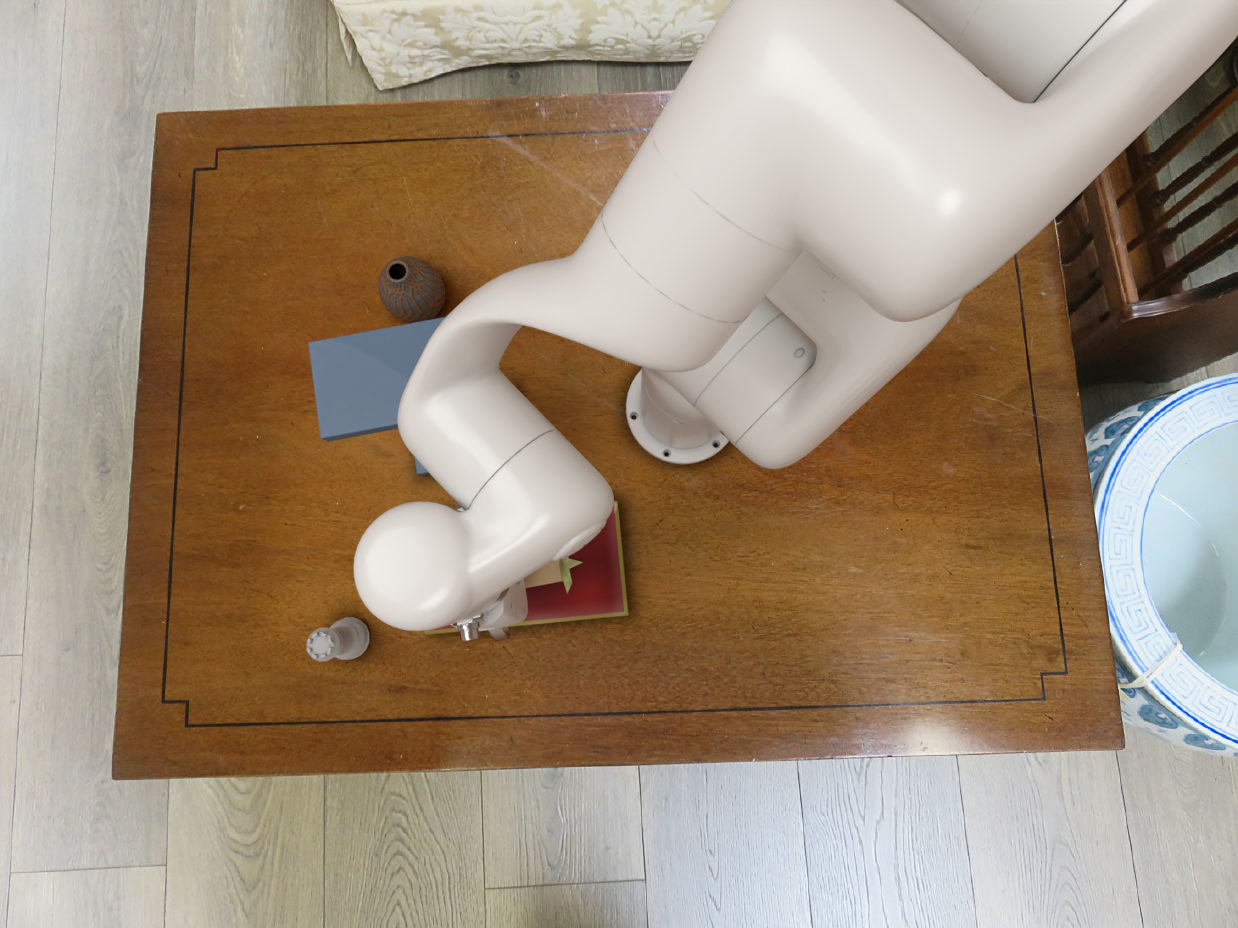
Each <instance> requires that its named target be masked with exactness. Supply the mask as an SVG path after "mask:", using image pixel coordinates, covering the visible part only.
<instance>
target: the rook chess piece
mask: <svg viewBox="0 0 1238 928" xmlns="http://www.w3.org/2000/svg"><path fill="white" fill-rule="evenodd" d="M369 644H370V631H369V629H368V626H367V625H366V624H365V622H363V621H362V620H361V619H359V618H356V617H353V616H351V617H344V618H340V619H339V620H336V621H334V622H333V623H332V624H331V625H330V626H329V627H318V628H317V629H314V630H313V631H312V632H311V633H310V634H309V636H308V639H307V640H306V652H307V654H308V655H309V657H311V658H312V659H313V660H314V661H317V662H328V661H330V660H332V659H333V658H336V659H338V660H341V661H347V660H348V661H349V660H354V659H356V658H359V657H361V656H362V655H363V654H364V653H365V651H366V650H367V648H368V646H369Z"/></svg>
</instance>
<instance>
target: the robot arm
mask: <svg viewBox="0 0 1238 928" xmlns="http://www.w3.org/2000/svg"><path fill="white" fill-rule="evenodd" d="M1237 37H1238V0H730V1H729V2H728V4H727V5H726V7H725V8H724V9H723V11H722V12H721V14H720V16H719V17H718V19H717V21H716V22H715V23H714V26H713V27H712V28H711V30H710V31H709V34H708V35H707V36H706V38H705V40H704V42H703V43H702V44H701V46H700V48H699V50H698V51H697V53H696V55H694V57H693V60H692V61H691V63H690V64H689V66H688V67H687V70H686V71H685V73H684V74H683V76H682V77H681V79H680V81H679V82H678V84H677V86H676V87H675V89H674V91H673V92H672V94H671V95H670V97H669V99H668V100H667V102H666V104H665V105H664V107H663V109H662V110H661V112H660V114H659V115H658V117H657V118H656V120H655V122H654V124H653V125H652V126H651V129H650V130H649V132H648V134H647V136H646V137H645V139H644V140H643V142H642V144H641V145H640V147H639V149H638V150H637V152H636V153H635V154H634V156H633V158H632V159H631V161H630V164H628V166H627V168H626V170H625V172H624V173H623V174H622V176H621V178H620V180H619V181H618V183H617V185H616V187H615V188H614V189H613V191H612V192H611V195H610V196H609V197H608V199H607V201H606V202H605V204H604V205H603V206H602V208H601V210H600V212H599V214H598V215H597V217H596V219H595V220H594V222H593V225H591V228H590V229H589V231H588V233H587V235H586V236H585V238H584V240H583V241H582V243H581V244H580V245H579V246H578V248H577V249H576V250H575V251H574V252H573V253H572V254H571V255H568V256H565V257H562V258H556V259H550V260H543V261H538V262H534V263H530V264H526V265H523V266H520V267H517V268H515V269H512V270H509V271H507V272H504V273H502V274H500V275H498V276H496V277H494V278H492V279H490V280H489V281H488V282H487V281H486V283H485V284H482V285H481V286H480V287H479V288H476V289H475V290H474V291H473V292H471V293H470V294H469V295H468V296H466V297H465V298H464V299H463V300H462V301H461V302H460V303H459V304H457V305H456V307H454V308H453V309H452V310H451V311H450V312H449V313H448V314H447V315H446V316H445V317H446V318H445V319H444V320H443V321H442V322H441V323H440V325H439V326H438V327H437V329H436V330H435V332H434V333H433V334H432V336H431V337H430V339H429V341H428V343H427V345H426V347H425V349H424V351H423V353H422V355H421V357H420V359H419V360H418V362H417V364H416V366H415V368H414V370H413V372H412V374H411V376H410V379H409V381H408V383H407V385H406V387H405V390H404V392H403V395H402V398H401V401H400V405H399V409H398V418H397V422H398V429H397V430H398V433H399V435H400V438H401V440H402V442H403V443H404V445H405V447H406V448H407V449H408V451H409V452H410V453H411V454H412V456H413V457H414V456H415V458H416V459H417V460H418V461H419V462H420V463H421V464H422V466H423V467H424V468H425V469H426V470H427V471H428V472H429V473H430V474H429V475H430V476H431V477H432V478H433V479H434V480H435V481H436V482H437V483H438V484H439V486H440V487H441V488H442V489H443V490H444V491H445V492H446V493H448V495H449V496H450V497H451V498H452V499H453V500H454V501H455V502H456V503H457V505H458V506H459V507H457V508H454V507H451V506H448V505H446V504H442V503H437V502H434V501H421V500H417V501H410V502H405V503H401V504H397V505H396V506H393V507H391V508H389V509H388V510H386V511H384V512H383V513H381V514H380V515H379V516H377V517H376V518H375V519H374V520H373V521H372V522H371V524H369V525H368V527H367V528H366V529H365V531H364V532H363V534H362V535H361V537H360V539H359V542H358V543H357V546H356V549H355V553H354V558H353V579H354V585H355V588H356V591H357V593H358V597H359V598H360V599H361V601H362V603H363V605H364V606H365V608H367V610H368V611H369V612H370V613H371V614H372V615H373V616H375V617H376V618H377V619H378V620H379V621H381V622H383V624H386V625H388V626H390V627H392V628H394V629H395V628H396V629H398V630H402V631H410V632H424V631H425V630H432V629H436V628H440V627H443V626H447V625H451V626H453V627H455V628H456V629H458V631H459V636H460V641H461V642H468V641H472V640H477V639H480V638H481V635H480V632H484V631H488V633H489V634H490V636H491V638H492V639H493V641H494V642H501V641H506V640H510V627H509V626H511V625H515V624H518V623H521V622H523V621H524V620H525V618H526V616H527V614H528V604H527V596H526V589H525V583H524V578H525V577H527V576H528V575H530V574H532V573H533V572H535V571H537V570H538V569H540V568H542V567H543V566H545V565H547V564H548V563H550V562H552V561H559V560H561V559H564V558H566V557H568V556H570V555H572V554H574V553H575V552H577V551H578V550H580V549H581V548H582V547H584V545H586V544H588V543H589V542H590V541H591V540H592V539H593V538H594V537H595V536H596V535H597V534H599V532H600V531H601V529H602V528H603V527H604V526H605V524H606V521H607V519H608V517H609V516H610V514H611V512H612V509H613V506H614V501H615V497H614V493H613V489H612V487H611V486H610V484H609V483H608V481H607V480H606V479H605V478H604V476H603V475H602V473H600V471H599V470H598V469H596V468H595V466H593V464H592V463H591V462H590V461H589V460H588V459H587V458H586V457H585V456H584V455H583V454H582V453H581V452H580V451H579V450H578V449H577V448H576V447H575V446H574V445H573V444H572V443H571V442H570V441H569V440H568V439H567V438H566V437H565V436H564V435H563V434H562V433H561V432H560V430H558V429H557V428H556V427H555V426H554V425H553V423H552V422H550V420H548V418H546V416H544V414H543V413H542V412H541V411H540V410H539V409H538V408H537V407H536V406H535V405H534V404H533V403H532V402H531V401H530V400H529V399H528V398H527V397H526V396H525V395H524V394H523V393H522V392H521V391H520V389H518V388H517V387H516V386H515V384H514V383H513V382H511V380H510V379H508V377H507V376H506V375H505V374H504V373H503V372H502V371H501V368H500V363H501V360H502V358H503V356H504V354H505V352H506V350H507V349H508V347H509V345H510V343H511V342H512V340H513V339H514V337H515V335H516V334H517V333H518V332H519V331H520V329H521V328H522V327H523V326H525V327H529V328H534V329H536V330H539V331H542V332H545V333H549V334H552V335H556V336H559V337H561V338H564V339H568V340H569V341H573V342H575V343H578V344H581V345H584V346H586V347H588V348H591V349H593V350H596V351H599V352H601V353H604V354H606V355H608V356H611V357H613V358H616V359H618V360H621V361H624V362H626V363H629V364H632V365H635V366H638V367H641V369H639V370H640V371H638V372H637V374H636V375H635V377H634V379H633V380H632V382H630V383H631V384H630V386H629V389H628V391H627V395H626V403H625V415H626V421H627V424H628V428H629V431H630V432H631V434H632V436H633V438H634V440H635V441H636V442H637V444H638V445H639V446H640V447H641V448H642V449H643V450H644V451H645V452H647V454H649V455H651V456H652V457H654V458H656V459H658V460H660V461H662V462H666V463H669V464H672V465H673V464H674V465H694V464H697V463H700V462H704V461H706V460H708V459H710V458H712V457H714V456H715V455H717V454H718V453H719V452H720V451H722V450H723V449H724V448H725V447H726V446H727V444H728V443H731V444H732V445H733V446H734V447H735V448H736V449H737V450H738V451H739V452H740V453H741V454H743V455H744V456H745V457H746V458H747V459H749V460H750V461H751V462H753V463H754V464H755V465H757V466H759V467H762V468H764V469H769V470H779V469H783V468H787V467H789V466H791V465H794V464H795V463H797V462H799V461H801V460H802V459H804V458H805V457H806V456H808V455H809V454H810V453H811V452H812V451H814V450H815V449H816V448H817V447H818V446H819V445H821V444H822V443H823V442H824V441H825V440H827V438H829V437H830V436H831V435H832V434H833V433H834V432H835V431H836V430H837V429H839V428H840V427H841V426H842V425H843V424H844V423H845V422H846V421H847V420H848V419H850V418H851V416H853V415H854V414H855V413H856V412H857V411H858V410H859V409H861V407H862V406H864V405H865V404H866V403H867V402H868V401H869V400H870V399H872V398H873V397H874V395H876V394H877V393H878V392H880V390H881V389H882V388H884V387H885V386H886V385H887V384H888V383H889V382H890V381H891V380H892V379H893V378H895V377H896V376H897V375H898V374H899V373H900V372H901V371H902V370H903V369H904V368H906V367H907V366H908V365H909V364H910V363H911V362H912V361H913V360H914V359H915V358H916V357H917V356H918V355H919V354H920V353H921V352H922V351H923V350H925V348H926V347H927V346H928V345H929V344H930V343H931V342H932V341H933V340H934V339H935V338H936V337H937V336H938V335H939V333H941V331H942V330H943V329H944V328H945V326H946V325H947V324H948V323H949V322H950V320H951V319H952V317H953V316H954V315H955V313H956V311H957V310H958V308H959V306H960V304H961V302H962V301H963V298H964V297H965V296H966V295H967V294H969V293H970V292H972V291H973V290H974V289H975V288H977V287H978V286H979V285H981V284H982V283H984V282H985V281H986V280H987V279H988V278H989V277H990V276H992V275H993V274H994V273H996V272H997V271H998V270H999V269H1000V268H1001V267H1003V266H1004V265H1005V264H1006V263H1007V262H1008V261H1010V260H1011V259H1012V258H1013V257H1014V256H1016V254H1018V252H1019V251H1021V250H1022V249H1023V248H1024V247H1025V246H1027V245H1028V243H1030V242H1031V241H1032V240H1033V239H1034V238H1035V237H1037V236H1038V235H1039V234H1040V233H1041V232H1042V231H1043V230H1044V229H1045V228H1047V226H1048V225H1049V224H1051V222H1052V221H1053V220H1055V218H1057V216H1059V215H1060V214H1061V213H1062V212H1063V211H1064V210H1065V209H1066V208H1067V207H1068V206H1069V205H1070V204H1071V203H1072V202H1073V201H1074V200H1075V199H1076V198H1078V196H1079V195H1080V194H1081V193H1083V192H1084V191H1085V189H1087V188H1088V187H1089V185H1091V183H1093V182H1094V180H1095V179H1096V178H1097V177H1098V176H1100V175H1101V173H1103V171H1104V170H1105V169H1106V168H1107V167H1108V166H1109V165H1110V164H1111V163H1112V162H1114V160H1115V159H1116V158H1117V157H1119V156H1120V155H1121V154H1122V153H1123V151H1125V150H1126V149H1127V148H1128V147H1130V145H1131V144H1132V143H1133V142H1134V141H1135V140H1136V139H1137V138H1138V137H1140V135H1141V134H1142V133H1143V132H1144V131H1146V130H1147V128H1149V126H1151V124H1153V123H1154V122H1155V121H1156V120H1157V119H1158V118H1159V117H1160V116H1161V115H1162V114H1164V112H1165V111H1166V110H1167V109H1168V108H1169V107H1170V106H1171V105H1173V103H1175V102H1176V101H1177V100H1178V99H1179V98H1181V96H1182V95H1183V94H1184V93H1185V92H1186V91H1187V90H1188V89H1190V87H1192V85H1193V84H1194V83H1195V82H1196V81H1197V80H1198V79H1199V78H1200V77H1201V76H1203V74H1204V73H1206V71H1207V70H1208V69H1209V68H1210V67H1212V65H1214V63H1215V62H1216V61H1217V60H1218V59H1219V58H1220V56H1222V54H1223V53H1224V52H1225V51H1226V50H1227V49H1228V48H1229V47H1230V45H1231V44H1232V43H1233V42H1234V41H1235V40H1236V39H1237ZM633 417H635V418H634V419H633ZM714 444H716V445H717V446H715V445H714ZM666 453H667V454H668V455H667V456H666V455H665V454H666ZM415 458H414V459H415ZM511 627H512V626H511Z"/></svg>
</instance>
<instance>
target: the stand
mask: <svg viewBox="0 0 1238 928" xmlns="http://www.w3.org/2000/svg"><path fill="white" fill-rule="evenodd" d="M446 317H447V316H443V317H438V318H433V319H431V320H426V321H421V322H415V323H404V324H400V325H395V326H394V325H393V326H389V327H383V328H379V329H372V330H368V331H361V332H356V333H352V334H351V333H350V334H346V335H341V336H334V337H330V338H324V339H319V340H314V341H308V342H307V344H308V352H309V359H310V367H311V374H312V375H311V376H312V382H313V383H312V384H313V390H314V391H313V392H314V398H315V407H316V415H317V422H318V429H319V437H320V439H321V440H323V441H326V442H328V443H330V442H334V441H340V440H346V439H352V438H356V437H361V436H366V435H372V434H378V433H382V432H388V431H394V430H399V429H398V422H397V418H398V409H399V405H400V401H401V398H402V395H403V392H404V390H405V387H406V385H407V383H408V381H409V379H410V376H411V374H412V372H413V370H414V368H415V366H416V364H417V362H418V360H419V359H420V357H421V355H422V353H423V351H424V349H425V347H426V345H427V343H428V341H429V339H430V337H431V336H432V334H433V333H434V332H435V330H436V329H437V327H438V326H439V325H440V323H441V322H442V321H443V320H444V319H445V318H446ZM413 457H414V463H415V471H416V475H418V476H420V477H422V476H423V477H424V476H427V475H428V476H429V475H430V473H429V472H428V471H427V470H426V469H425V468H424V467H423V466H422V464H421V463H420V462H419V461H418V460H417V459H416V458H415V456H414V455H413Z"/></svg>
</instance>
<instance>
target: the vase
mask: <svg viewBox="0 0 1238 928" xmlns="http://www.w3.org/2000/svg"><path fill="white" fill-rule="evenodd" d="M377 289H378V294H379V298H380V300H381V303H382V304H383V306H384V307H385V309H386V310H387V311H388V312H389V313H390V314H391V315H392V316H393V317H394V318H396V319H398V320H399V321H402V322H405V323H407V324H410V323H415V322H421V321H426V320H432V319H435V317H436V316H438V314H439V313H440V312H441V311H442V309H443V307H444V304H445V300H446V288H445V283H444V281H443V278H442V277H441V274H439V272H438V271H437V269H436V268H435V267H434V266H433V265H432V264H430V262H428V261H427V260H425V259H423V258H420V257H417V256H412V255H402V256H398V257H396V258H394V259H392V260H390V261H389V262H387V263H386V264H385V266H384V267H383V268H382V269H381V271H380V274H379V277H378V283H377Z"/></svg>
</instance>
